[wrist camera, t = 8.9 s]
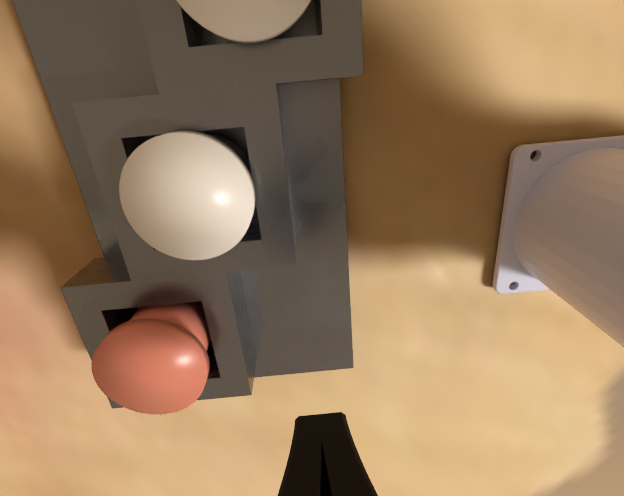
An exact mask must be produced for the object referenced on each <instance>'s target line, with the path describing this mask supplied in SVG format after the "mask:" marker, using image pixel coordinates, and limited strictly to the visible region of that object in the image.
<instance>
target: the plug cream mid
mask: <svg viewBox="0 0 624 496" xmlns="http://www.w3.org/2000/svg"><path fill="white" fill-rule="evenodd" d="M119 194H120V201H121V205H122V208H123V211H124V214H125V216H126V218H127V220H128V222H129V223H130V225H131V226H132V228H133V229H134V231H135V232H136V233H137V234H138V235H139V236H140V237H141V238H142V239H143V240H144V241H145V242H146V243H148V244H149V245H150V246H152V247H153V248H155V249H157V250H158V251H160V252H162V253H164V254H167V255H169V256H172V257H175V258H179V259H185V260H204V259H210V258H213V257H217V256H219V255H222V254H224V253H225V252H227V251H229V250H230V249H232V248H233V247H234V246H235V245H237V243H238V242H239V241H240V240H241V239H242V238H243V236H244V235H245V233H246V232H247V230H248V228H249V225H250V222H251V219H252V216H253V214H254V209H255V189H254V184H253V181H252V174H251V168H250V162H249V160H248V158H247V157H246V155H245V154H244V152H243V151H242V150H241V149H240V148H239V147H238V146H237V145H236V144H235V143H233V142H232V141H231V140H229V139H227V138H225V137H223V136H220V135H216V134H211V133H199V132H194V131H174V132H169V133H166V134H162V135H159V136H156V137H154V138H152V139H150V140H147V141H146V142H144V143H143V144H141V145H140V146H138V147H137V148H136V149H135V150H134V151H133V152H132V154H131V155H130V156H129V158H128V159H127V161H126V163H125V165H124V167H123V170H122V173H121V177H120V182H119Z"/></svg>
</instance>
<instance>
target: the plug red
mask: <svg viewBox="0 0 624 496" xmlns="http://www.w3.org/2000/svg"><path fill="white" fill-rule="evenodd" d="M210 340H211V337H210V333H209V329H208V325H207V321H206V316H205V312H204V308H203V304H202V301H197V302H187V303H176V304H166V305H155V306H145V307H139V308H138V310H137V311H136V312H135V314H134V315H133V317H132V318H131V319H130V321H127V322H124V323H122V324H120V325H118V326H117V327H115V328H114V329H113V330H111V331H110V332H109V333H108V334H107V336H106V337H105V338H104V339H103V341H102V342H101V343H100V345H99V346H98V347H97V349H96V351H95V353H94V355H93V358H92V373H93V376H94V379H95V381H96V383H97V385H98V386H99V388H100V389H101V390H102V391H103V393H104V394H105V395H106V396H108V397H109V398H110V399H111V400H113V401H114V402H116V403H117V404H119V405H121V406H123V407H125V408H127V409H130V410H133V411H136V412H141V413H147V414H167V413H172V412H176V411H179V410H182V409H184V408H186V407H188V406H189V405H191V404H192V403H194V402H195V401H196V400H197V399H198V398H199V396H200V395H201V393H202V392H203V390H204V387H205V384H206V381H207V377H208V374H209V369H210V362H209V357H208V354H207V349H208V346H209V343H210Z"/></svg>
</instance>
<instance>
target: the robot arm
mask: <svg viewBox="0 0 624 496" xmlns="http://www.w3.org/2000/svg"><path fill="white" fill-rule="evenodd" d="M535 150H536V156H535V157H534V158H533V159H530V155H531V153H532V152H533V151H535ZM512 282H514V284H513V285H512V286H509V285H510V284H511V283H512ZM492 285H493V288H494V290H495V291H496V292H497V293H499V294H509V293H519V292H530V291H540V290H552V291H553V292H554V293H555V294H557V295H558V296H559V297H561V298H562V299H563V300H564V301H566V302H567V303H568V304H569V305H571V306H572V307H573V308H575V309H576V310H577V311H578V312H580V313H581V314H582V315H583V316H585V317H586V318H587V319H589V320H590V321H591V322H592V323H594V324H595V325H596V326H597V327H599V328H600V329H601V330H603V331H604V332H605V333H606V334H608V335H609V336H610V337H611V338H613V339H614V340H615V341H617V342H618V343H619V344H620V345H622V346H623V347H624V135H620V136H609V137H598V138H588V139H577V140H566V141H556V142H545V143H534V144H524V145H519V146H517V147H516V148H515V149H514V150H513V151H512V153H511V156H510V163H509V170H508V177H507V184H506V191H505V198H504V206H503V213H502V220H501V227H500V234H499V241H498V248H497V255H496V262H495V270H494V277H493V284H492ZM278 496H378V495H377V493H376V491H375V489H374V487H373V485H372V483H371V481H370V479H369V477H368V474H367V472H366V470H365V468H364V466H363V464H362V461H361V459H360V457H359V454H358V452H357V449H356V447H355V444H354V442H353V439H352V436H351V433H350V430H349V427H348V424H347V420H346V416H345V414H343V413H342V412H339V413H328V414H318V415H308V416H299V417H298V418H297V419H296V420H295V428H294V434H293V440H292V445H291V449H290V454H289V458H288V462H287V466H286V469H285V473H284V476H283V480H282V483H281V486H280V490H279V493H278Z"/></svg>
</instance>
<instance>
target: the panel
mask: <svg viewBox="0 0 624 496" xmlns="http://www.w3.org/2000/svg"><path fill="white" fill-rule="evenodd" d="M12 1H13V4H14V7H15V9H16V12H17V15H18V18H19V21H20V23H21V26H22V29H23V32H24V35H25V37H26V40H27V43H28V46H29V48H30V51H31V54H32V57H33V60H34V62H35V65H36V68H37V71H38V74H39V76H40V79H41V82H42V85H43V88H44V90H45V93H46V96H47V99H48V101H49V104H50V107H51V110H52V113H53V115H54V118H55V121H56V124H57V127H58V129H59V132H60V135H61V138H62V141H63V143H64V146H65V149H66V152H67V154H68V157H69V160H70V163H71V166H72V168H73V171H74V174H75V177H76V180H77V182H78V185H79V188H80V191H81V194H82V196H83V199H84V202H85V205H86V207H87V210H88V213H89V216H90V219H91V221H92V224H93V227H94V230H95V233H96V235H97V238H98V241H99V244H100V247H101V249H102V252H103V255H104V258H98V259H94V260H93V261H91V262H90V263H89V264H88V265H87V266H85V267H84V268H83V269H82V270H81V271H79V272H78V273H77V274H76V275H75V276H74V277H72V278H71V279H70V280H69V281H68V282H66V283H65V284H64V285H63V286H62V287H60V288H61V291H62V293H63V295H64V298H65V300H66V302H67V305H68V307H69V309H70V312H71V314H72V316H73V318H74V321H75V323H76V325H77V328H78V330H79V332H80V335H81V337H82V339H83V342H84V344H85V346H86V349H87V351H88V353H89V356H90V358H91V360H92V358H93V355H94V353H95V351H96V349H97V347H98V346H99V345H100V343H101V342H102V341H103V339H104V338H105V337H106V336H107V334H108V333H109V332H110V331H111V330H113V329H114V328H115V327H117V326H118V325H120V324H122V323H124V322H127V321H130V319H131V318H132V317H133V315H134V314H135V312H136V311H137V310H138V308H139V307H145V306H155V305H166V304H176V303H187V302H197V301H202V304H203V308H204V312H205V316H206V321H207V325H208V329H209V333H210V337H211V340H210V343H209V346H208V349H207V354H208V357H209V362H210V369H209V374H208V377H207V381H206V384H205V387H204V390H203V392H202V393H201V395H200V396H199V398H198V399H197V400H204V399H215V398H225V397H235V396H246V395H251V394H252V388H253V381H254V377H263V376H273V375H284V374H294V373H305V372H315V371H325V370H336V369H346V368H353V350H352V329H351V308H350V288H349V267H348V246H347V225H346V205H345V184H344V163H343V142H342V121H341V101H340V80H339V79H342V78H352V77H357V76H362V75H363V47H362V5H361V0H311V2H310V4H309V5H308V7H307V9H306V10H305V12H304V13H303V15H302V16H301V17H300V18H299V19H298V21H297V22H296V23H295V24H294V25H293V26H291V27H290V28H289V29H288V30H286V31H285V32H284V33H282V34H280V35H278V36H276V37H274V38H272V39H269V40H266V41H262V42H256V43H241V42H235V41H231V40H228V39H225V38H222V37H220V36H218V35H216V34H214V33H212V32H211V31H209V30H207V29H206V28H204V27H203V26H201V25H200V24H199V23H198V22H196V21H195V20H194V19H193V18H192V17H191V16H190V15H189V14H188V13H187V12H186V11H185V10H184V9H183V8H182V7H181V6H180V4H179V3H178V2H177V1H176V0H12ZM174 131H194V132H199V133H211V134H216V135H220V136H223V137H225V138H227V139H229V140H231V141H232V142H233V143H235V144H236V145H237V146H238V147H239V148H240V149H241V150H242V151H243V152H244V154H245V155H246V157H247V158H248V160H249V162H250V168H251V174H252V181H253V184H254V189H255V209H254V214H253V216H252V219H251V222H250V225H249V228H248V230H247V232H246V233H245V235H244V236H243V238H242V239H241V240H240V241H239V242H238V243H237V245H235V246H234V247H233V248H232V249H230V250H229V251H227V252H225V253H224V254H222V255H219V256H217V257H213V258H210V259H204V260H185V259H179V258H175V257H172V256H169V255H167V254H164V253H162V252H160V251H158V250H157V249H155V248H153V247H152V246H150V245H149V244H148V243H146V242H145V241H144V240H143V239H142V238H141V237H140V236H139V235H138V234H137V233H136V232H135V231H134V229H133V228H132V226H131V225H130V223H129V222H128V220H127V218H126V216H125V214H124V211H123V208H122V205H121V201H120V194H119V182H120V177H121V173H122V170H123V167H124V165H125V163H126V161H127V159H128V158H129V156H130V155H131V154H132V152H133V151H134V150H135V149H136V148H137V147H138V146H140V145H141V144H143V143H144V142H146V141H147V140H150V139H152V138H154V137H156V136H159V135H162V134H166V133H169V132H174ZM107 397H108V396H107ZM108 400H109V402H110V404H111V407H112V408H121V407H123V406H121V405H119V404H117V403H116V402H114V401H113V400H111V399H110V398H109V397H108Z"/></svg>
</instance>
